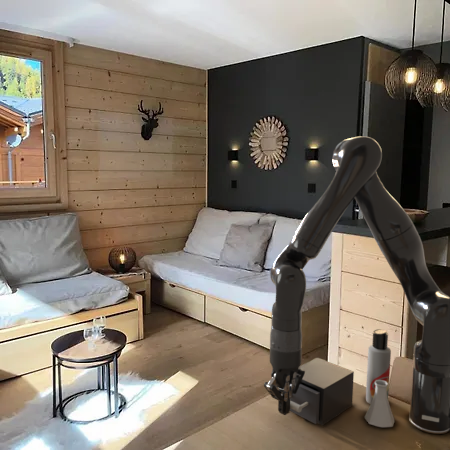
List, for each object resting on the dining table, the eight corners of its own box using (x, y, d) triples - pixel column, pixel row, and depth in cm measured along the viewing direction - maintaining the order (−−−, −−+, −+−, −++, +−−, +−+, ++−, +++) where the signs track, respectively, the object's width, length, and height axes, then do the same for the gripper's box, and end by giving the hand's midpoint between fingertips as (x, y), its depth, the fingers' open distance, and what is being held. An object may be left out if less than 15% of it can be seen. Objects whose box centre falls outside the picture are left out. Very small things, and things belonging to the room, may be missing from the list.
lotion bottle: (388, 408, 119) (392, 335, 116) (365, 405, 120) (369, 333, 117) (387, 397, 124) (391, 328, 121) (365, 394, 126) (369, 325, 123)
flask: (397, 430, 109) (399, 391, 108) (365, 426, 110) (367, 388, 109) (392, 414, 116) (394, 377, 115) (362, 410, 117) (364, 374, 116)
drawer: (305, 431, 107) (306, 400, 106) (271, 413, 114) (272, 384, 113) (344, 405, 118) (345, 377, 117) (311, 390, 126) (312, 364, 125)
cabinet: (322, 425, 111) (323, 388, 109) (285, 406, 119) (286, 372, 118) (352, 405, 120) (353, 371, 119) (316, 389, 128) (317, 357, 127)
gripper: (279, 357, 100) (278, 430, 102) (315, 341, 109) (313, 409, 111) (255, 347, 105) (254, 416, 107) (290, 333, 114) (289, 397, 116)
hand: (284, 412), depth 109 cm, fingers closed
